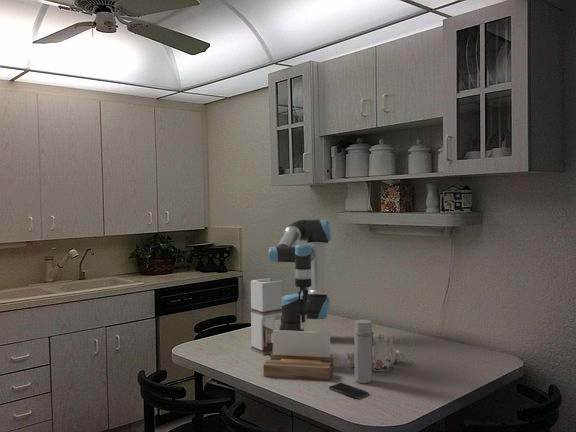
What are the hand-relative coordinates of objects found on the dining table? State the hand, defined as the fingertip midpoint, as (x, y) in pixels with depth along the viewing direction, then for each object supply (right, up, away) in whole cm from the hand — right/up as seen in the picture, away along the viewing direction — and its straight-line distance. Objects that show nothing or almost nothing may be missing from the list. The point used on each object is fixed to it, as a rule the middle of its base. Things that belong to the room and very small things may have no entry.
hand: (303, 328), depth 238 cm
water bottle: (+25, -16, -25) cm, 39 cm away
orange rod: (-2, -15, -9) cm, 18 cm away
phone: (+17, -17, -37) cm, 44 cm away
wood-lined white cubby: (-18, -15, +19) cm, 30 cm away
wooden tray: (-2, -16, -12) cm, 20 cm away
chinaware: (+33, -16, -8) cm, 37 cm away
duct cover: (-1, -5, -8) cm, 9 cm away
